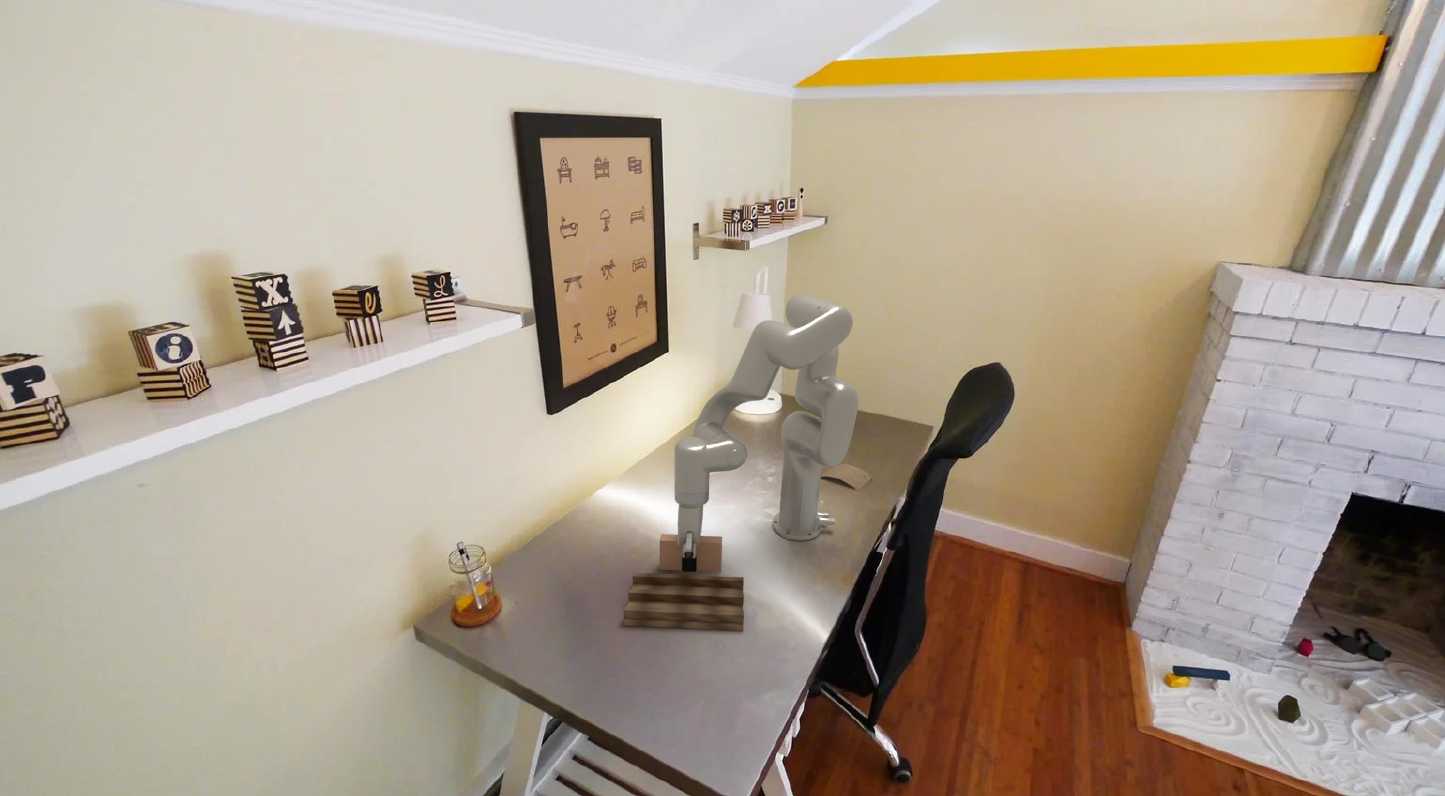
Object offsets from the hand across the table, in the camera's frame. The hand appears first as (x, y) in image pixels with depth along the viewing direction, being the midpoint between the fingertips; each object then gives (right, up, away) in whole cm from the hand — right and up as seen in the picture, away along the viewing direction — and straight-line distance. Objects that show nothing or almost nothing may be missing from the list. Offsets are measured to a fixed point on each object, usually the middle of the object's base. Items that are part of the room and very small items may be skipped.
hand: (690, 557), depth 135 cm
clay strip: (0, -3, +1) cm, 3 cm away
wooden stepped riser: (0, -7, -11) cm, 13 cm away
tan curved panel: (+44, +12, +42) cm, 62 cm away
